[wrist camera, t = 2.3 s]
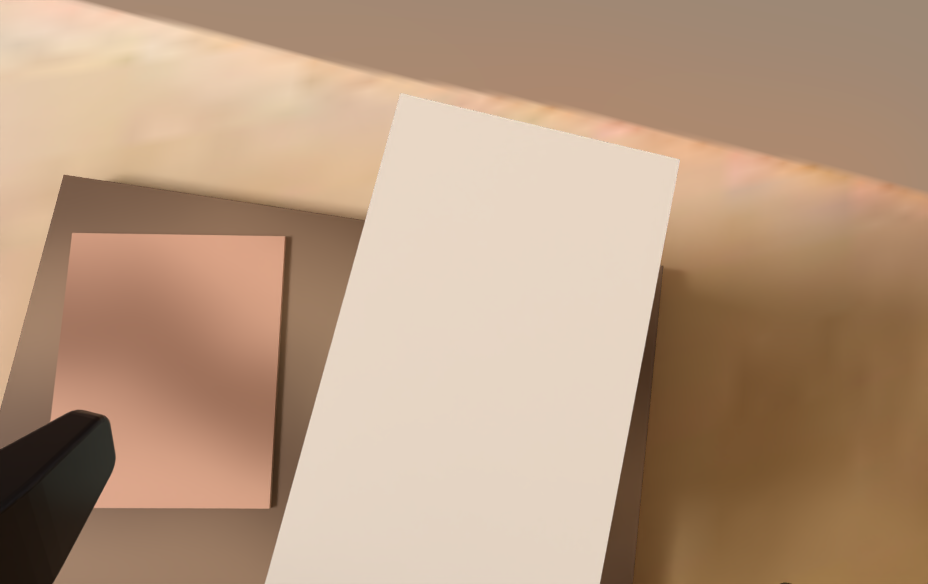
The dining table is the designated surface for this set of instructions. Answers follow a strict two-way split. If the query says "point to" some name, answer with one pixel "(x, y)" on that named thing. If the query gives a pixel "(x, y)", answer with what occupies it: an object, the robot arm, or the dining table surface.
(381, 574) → the tall beige block
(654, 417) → the dining table surface
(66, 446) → the robot arm
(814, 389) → the dining table surface
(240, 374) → the walnut board
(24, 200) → the dining table surface
